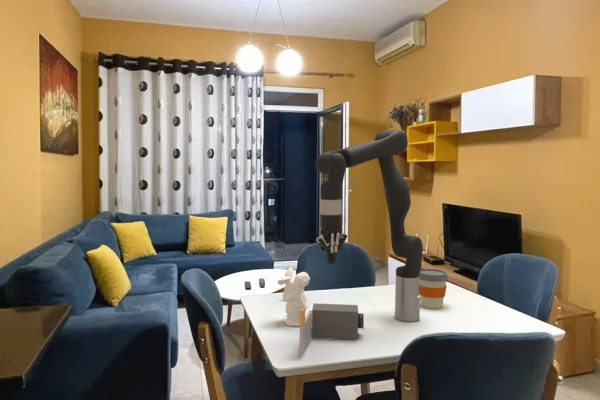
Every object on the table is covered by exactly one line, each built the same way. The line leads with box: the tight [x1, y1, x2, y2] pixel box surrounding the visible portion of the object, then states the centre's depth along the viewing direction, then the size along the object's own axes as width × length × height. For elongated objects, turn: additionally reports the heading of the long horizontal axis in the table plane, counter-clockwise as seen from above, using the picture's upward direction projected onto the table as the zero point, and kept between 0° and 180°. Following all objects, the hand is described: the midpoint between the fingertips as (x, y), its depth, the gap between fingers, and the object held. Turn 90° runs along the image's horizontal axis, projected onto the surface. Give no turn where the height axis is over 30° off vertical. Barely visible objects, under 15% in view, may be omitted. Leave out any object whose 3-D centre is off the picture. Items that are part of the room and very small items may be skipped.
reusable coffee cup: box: [419, 268, 448, 310], centre depth 198 cm, size 13×13×15 cm
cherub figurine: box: [277, 263, 311, 327], centre depth 174 cm, size 12×12×22 cm
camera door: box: [298, 308, 312, 356], centre depth 150 cm, size 17×1×14 cm, turn 169°
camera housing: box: [311, 303, 365, 341], centre depth 162 cm, size 18×8×10 cm, turn 84°
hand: (331, 263), depth 154 cm, fingers closed
